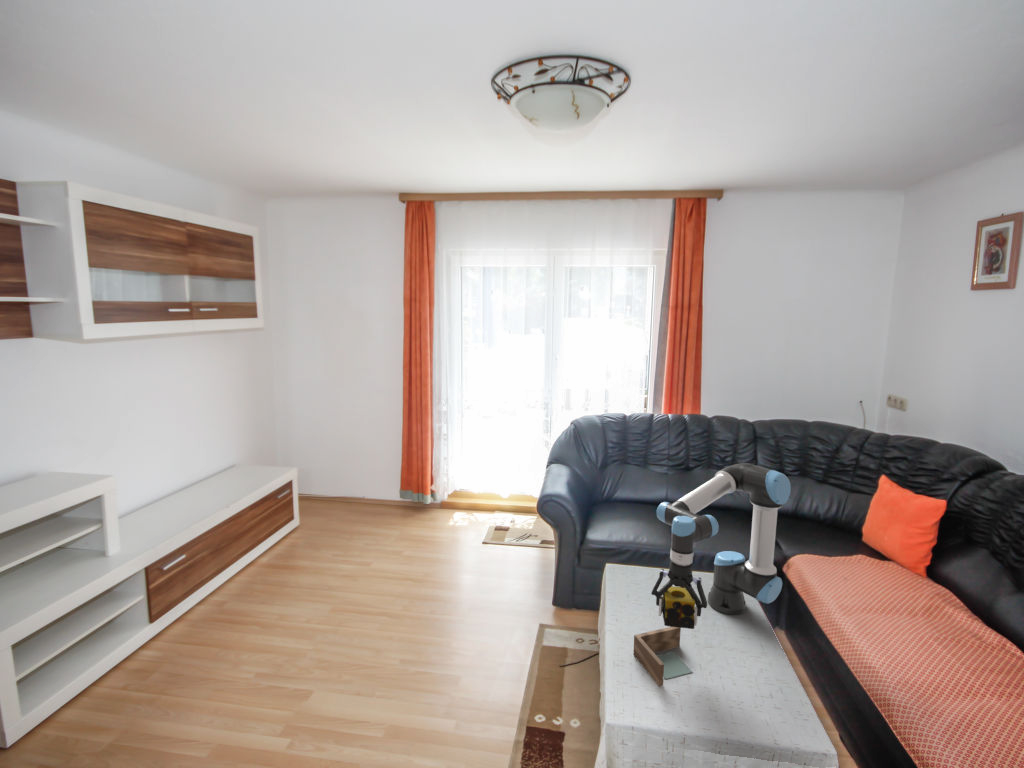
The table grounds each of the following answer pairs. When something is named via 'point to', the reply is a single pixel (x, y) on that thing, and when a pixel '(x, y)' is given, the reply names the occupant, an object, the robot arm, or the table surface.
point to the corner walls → (655, 649)
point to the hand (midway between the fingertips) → (677, 618)
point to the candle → (678, 608)
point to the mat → (673, 665)
